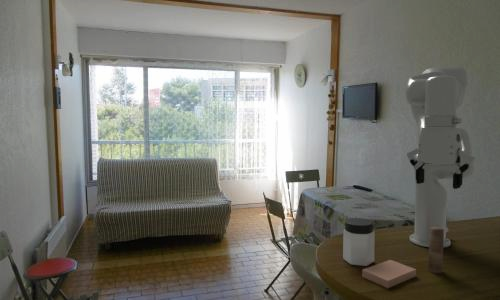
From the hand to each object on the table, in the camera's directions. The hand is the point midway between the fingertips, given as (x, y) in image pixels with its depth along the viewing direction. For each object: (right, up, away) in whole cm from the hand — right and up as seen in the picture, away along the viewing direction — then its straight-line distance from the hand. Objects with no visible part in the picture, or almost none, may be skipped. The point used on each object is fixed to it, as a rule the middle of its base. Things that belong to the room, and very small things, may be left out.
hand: (437, 185), depth 98 cm
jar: (-19, -24, +10) cm, 32 cm away
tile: (-9, -23, +2) cm, 25 cm away
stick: (0, -24, +2) cm, 24 cm away
